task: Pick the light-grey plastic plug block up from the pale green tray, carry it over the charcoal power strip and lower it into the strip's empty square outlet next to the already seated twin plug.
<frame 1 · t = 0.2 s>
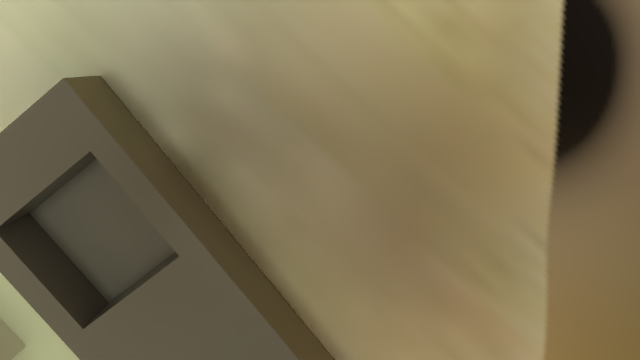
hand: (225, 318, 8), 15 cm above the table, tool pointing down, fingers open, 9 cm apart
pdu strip: (193, 308, 25), on the table
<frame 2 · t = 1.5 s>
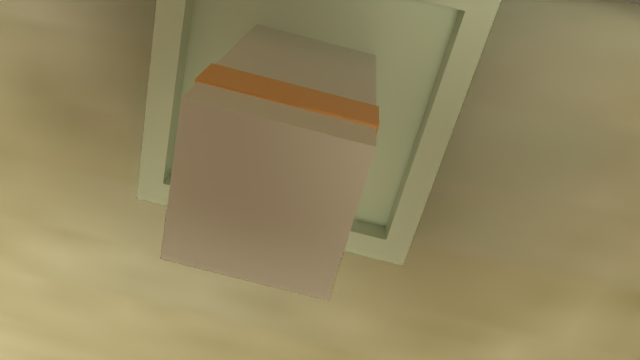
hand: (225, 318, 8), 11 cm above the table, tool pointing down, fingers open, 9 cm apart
tray: (305, 89, 18), on the table
plug: (303, 97, 17), point 1 cm above the table, touching tray
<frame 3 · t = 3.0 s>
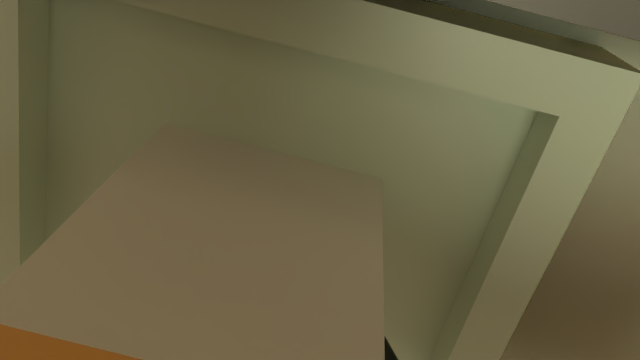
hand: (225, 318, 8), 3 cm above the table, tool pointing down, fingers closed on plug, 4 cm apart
tray: (261, 219, 11), on the table
plug: (253, 242, 10), point 1 cm above the table, touching gripper, tray
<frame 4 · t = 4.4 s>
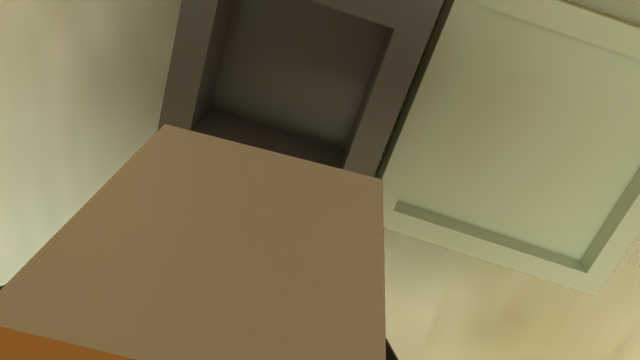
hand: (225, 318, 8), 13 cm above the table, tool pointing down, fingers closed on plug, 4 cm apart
tray: (528, 134, 20), on the table
plug: (254, 243, 10), point 11 cm above the table, touching gripper
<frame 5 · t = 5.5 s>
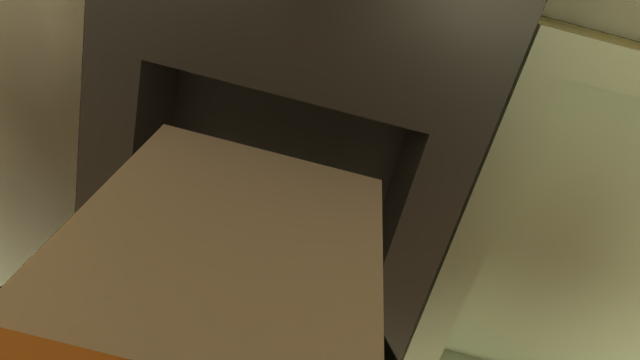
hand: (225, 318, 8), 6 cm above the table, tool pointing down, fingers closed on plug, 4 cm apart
tray: (627, 246, 13), on the table
plug: (253, 243, 10), point 4 cm above the table, touching gripper
when the fingers open (4 cm above the table, at t = 6.1 s): plug drops 1 cm, resting on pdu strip.
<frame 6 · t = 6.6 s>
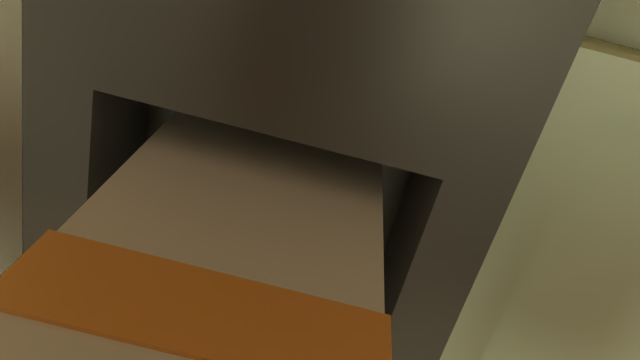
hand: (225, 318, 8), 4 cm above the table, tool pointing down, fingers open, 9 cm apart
plug: (267, 205, 11), point 1 cm above the table, touching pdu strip
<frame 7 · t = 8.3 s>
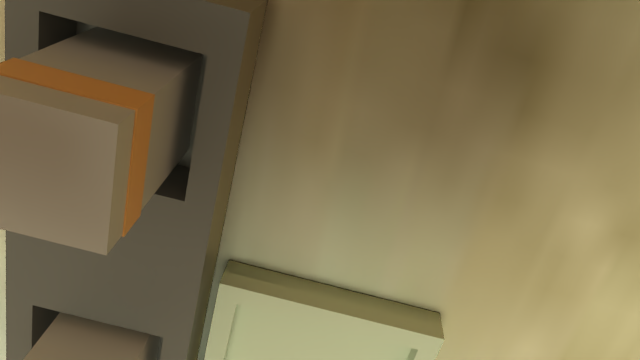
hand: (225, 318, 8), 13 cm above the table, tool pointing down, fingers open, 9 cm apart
plug: (119, 328, 24), point 1 cm above the table, touching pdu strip
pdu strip: (134, 225, 23), on the table
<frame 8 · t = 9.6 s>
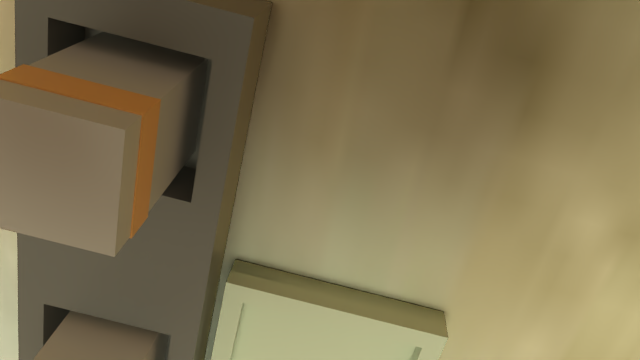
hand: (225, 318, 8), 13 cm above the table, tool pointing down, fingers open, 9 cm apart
plug: (128, 326, 25), point 1 cm above the table, touching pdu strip
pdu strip: (142, 225, 23), on the table
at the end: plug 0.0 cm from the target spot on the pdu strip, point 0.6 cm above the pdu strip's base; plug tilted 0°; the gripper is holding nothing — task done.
